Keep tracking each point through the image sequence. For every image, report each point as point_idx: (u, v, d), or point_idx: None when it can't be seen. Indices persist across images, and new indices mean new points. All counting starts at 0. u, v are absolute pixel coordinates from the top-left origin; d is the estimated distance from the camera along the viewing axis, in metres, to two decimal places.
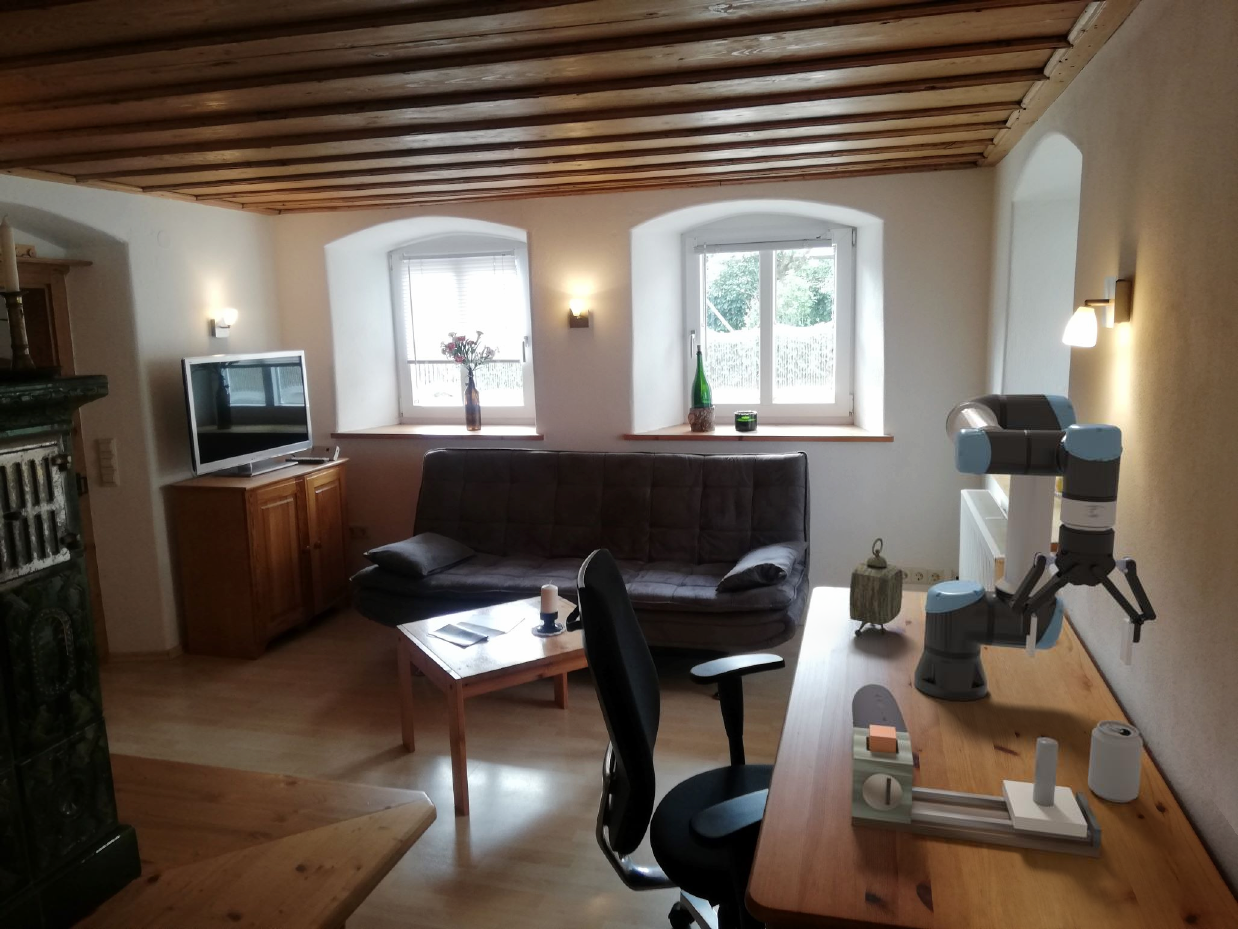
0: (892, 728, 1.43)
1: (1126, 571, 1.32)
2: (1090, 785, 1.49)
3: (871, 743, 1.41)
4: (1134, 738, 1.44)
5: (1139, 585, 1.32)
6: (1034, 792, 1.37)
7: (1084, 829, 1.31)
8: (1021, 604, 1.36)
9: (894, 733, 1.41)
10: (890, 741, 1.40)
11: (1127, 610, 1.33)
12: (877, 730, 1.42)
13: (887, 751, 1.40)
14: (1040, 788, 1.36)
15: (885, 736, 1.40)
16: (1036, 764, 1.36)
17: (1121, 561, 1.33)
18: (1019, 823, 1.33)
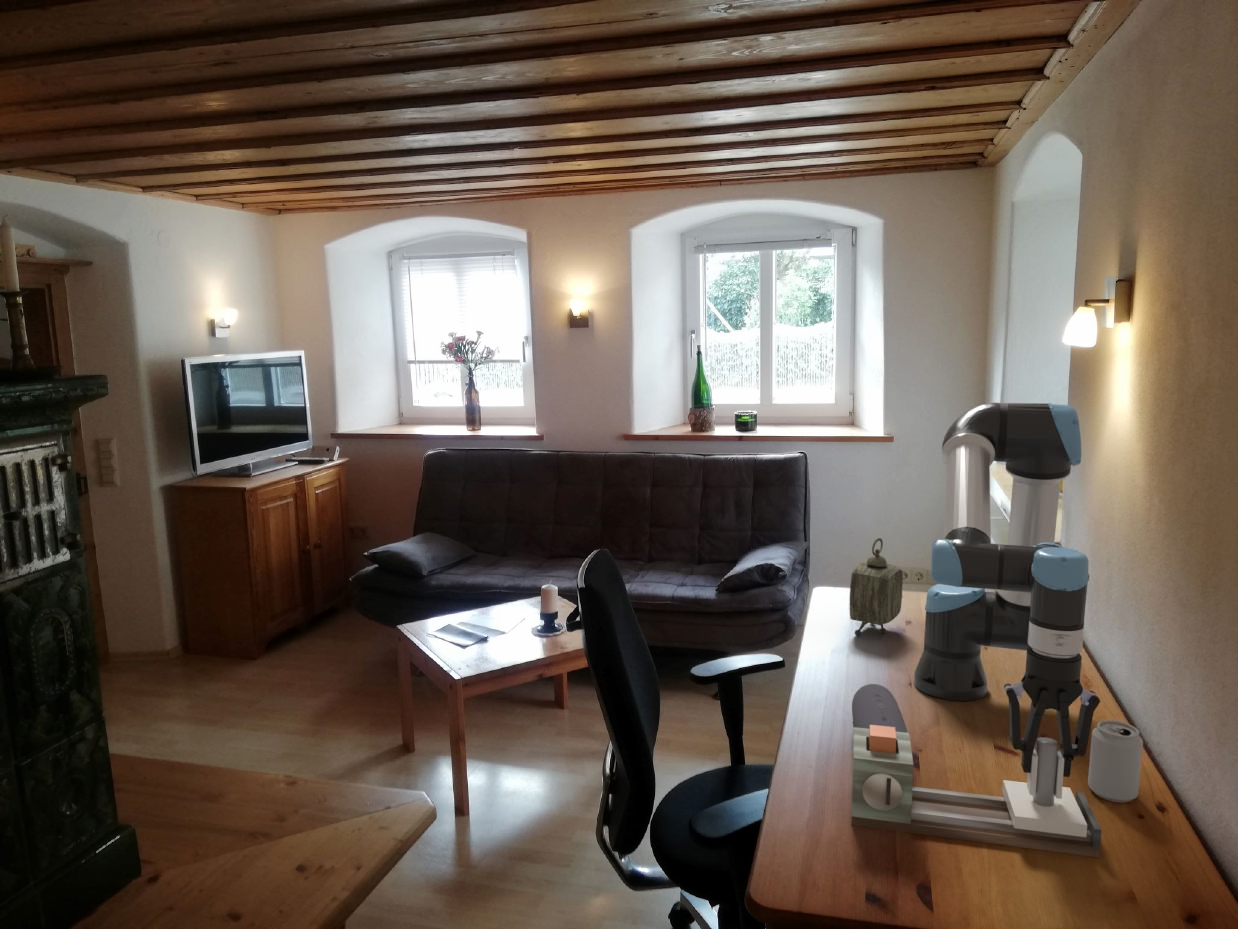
0: (892, 728, 1.43)
1: (1086, 704, 1.32)
2: (1090, 785, 1.49)
3: (871, 743, 1.41)
4: (1134, 738, 1.44)
5: (1089, 722, 1.32)
6: None
7: (1084, 829, 1.31)
8: (1019, 740, 1.35)
9: (894, 733, 1.41)
10: (890, 741, 1.40)
11: (1064, 742, 1.34)
12: (877, 730, 1.42)
13: (887, 751, 1.40)
14: (1040, 788, 1.36)
15: (885, 736, 1.40)
16: None
17: (1087, 693, 1.32)
18: (1019, 823, 1.33)
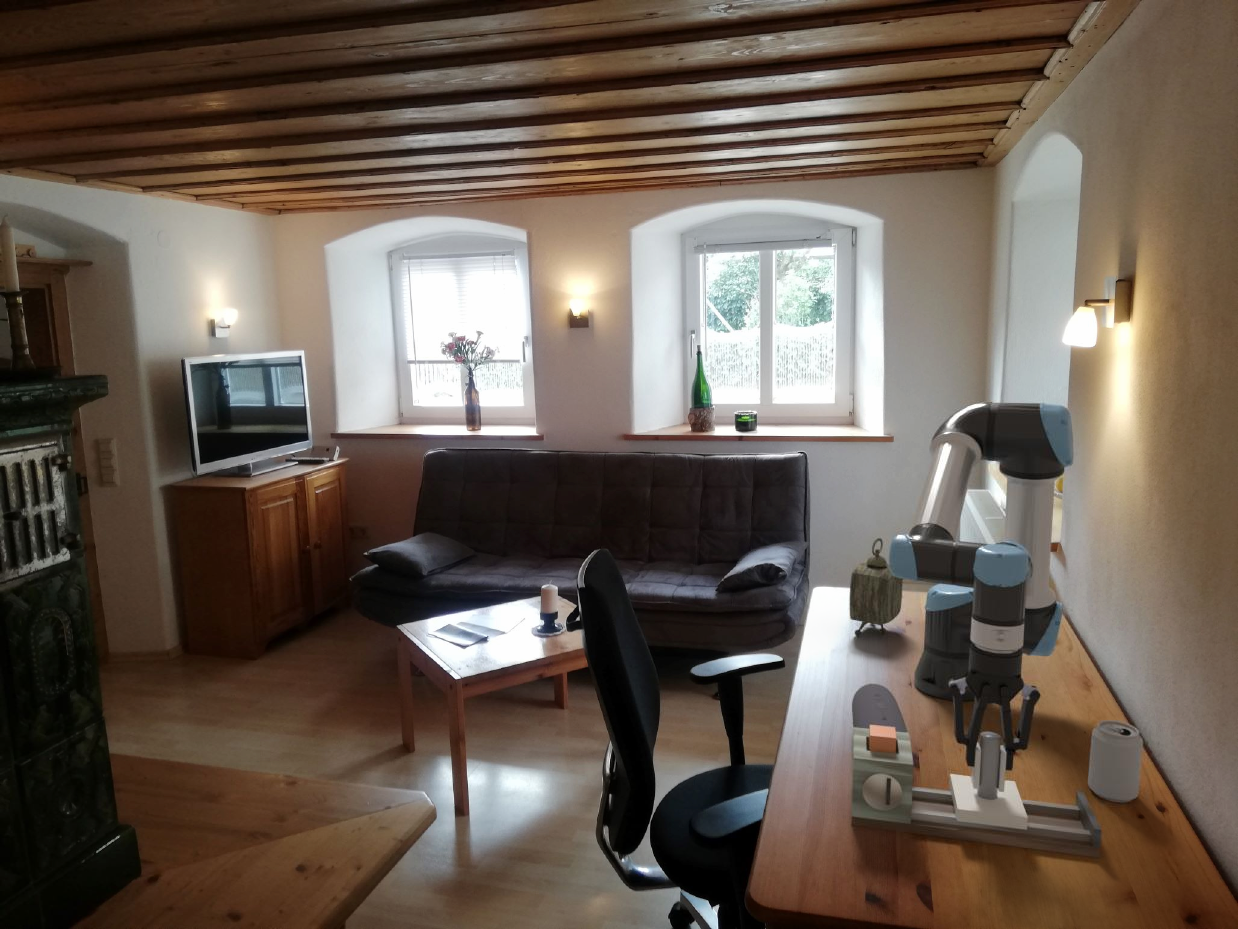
0: (892, 728, 1.43)
1: (1027, 698, 1.34)
2: (1090, 785, 1.49)
3: (871, 743, 1.41)
4: (1134, 738, 1.44)
5: (1030, 716, 1.34)
6: None
7: (1024, 822, 1.33)
8: (962, 735, 1.37)
9: (894, 733, 1.41)
10: (890, 741, 1.40)
11: (1006, 736, 1.36)
12: (877, 730, 1.42)
13: (887, 751, 1.40)
14: (983, 782, 1.38)
15: (885, 736, 1.40)
16: None
17: (1028, 688, 1.35)
18: (961, 816, 1.35)
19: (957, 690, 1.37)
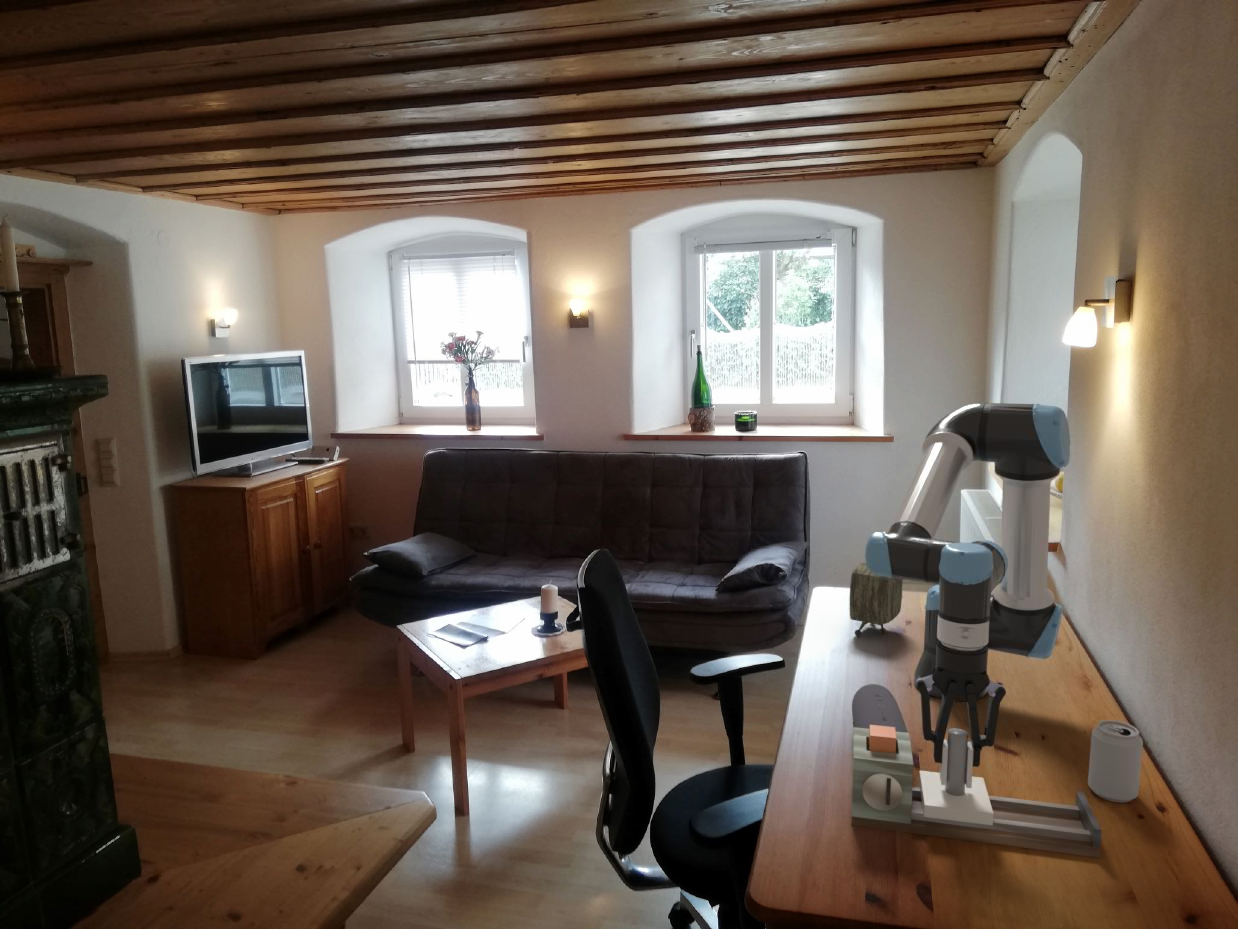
0: (892, 728, 1.43)
1: (993, 695, 1.35)
2: (1090, 785, 1.49)
3: (871, 743, 1.41)
4: (1134, 738, 1.44)
5: (996, 712, 1.36)
6: (946, 782, 1.40)
7: (990, 817, 1.34)
8: (930, 731, 1.39)
9: (894, 733, 1.41)
10: (890, 741, 1.40)
11: (973, 733, 1.37)
12: (877, 730, 1.42)
13: (887, 751, 1.40)
14: (951, 778, 1.39)
15: (885, 736, 1.40)
16: None
17: (994, 685, 1.36)
18: (928, 812, 1.36)
19: (924, 687, 1.38)
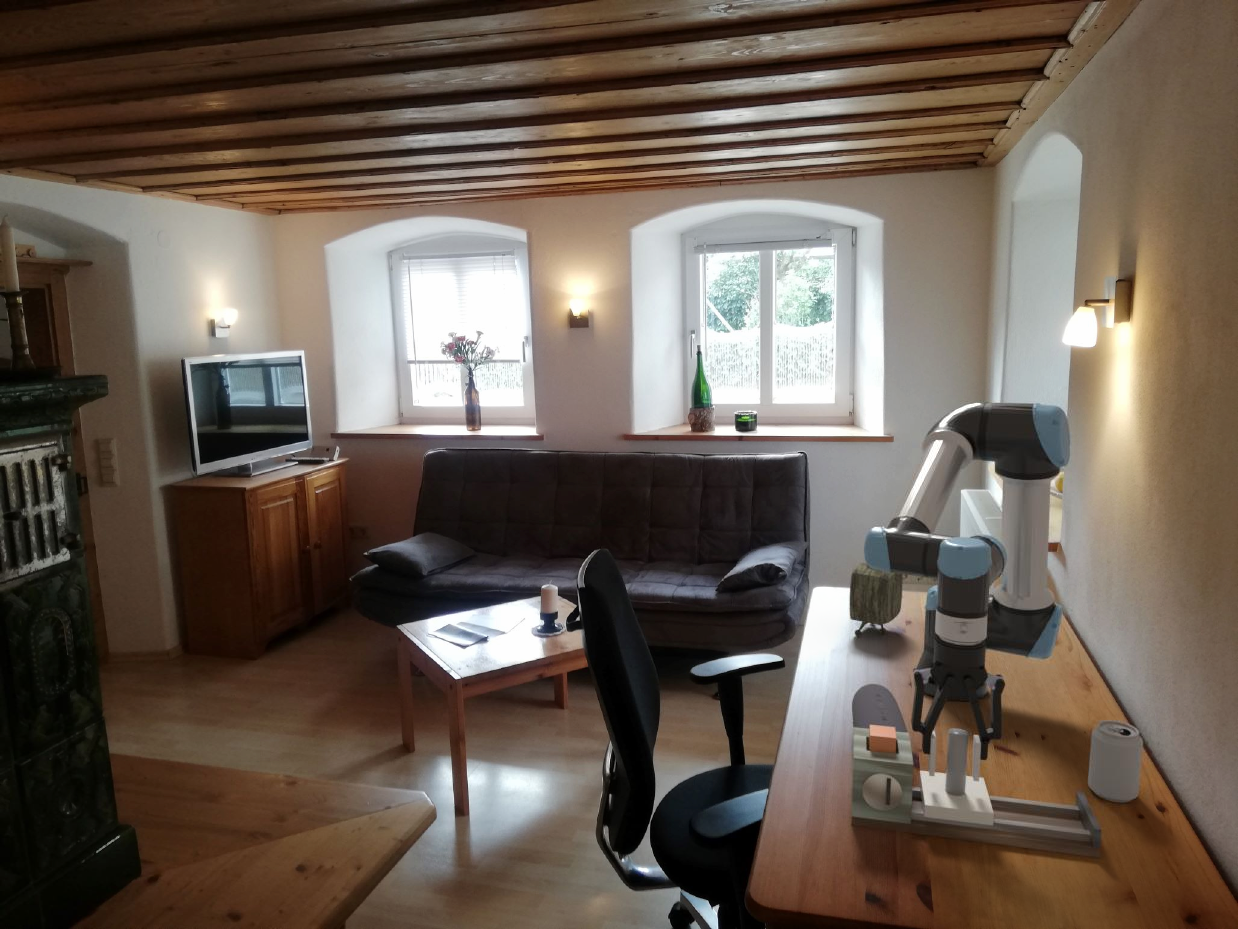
0: (892, 728, 1.43)
1: (993, 688, 1.35)
2: (1090, 785, 1.49)
3: (871, 743, 1.41)
4: (1134, 738, 1.44)
5: (999, 705, 1.35)
6: (946, 782, 1.40)
7: (990, 817, 1.34)
8: (919, 723, 1.39)
9: (894, 733, 1.41)
10: (890, 741, 1.40)
11: (979, 727, 1.37)
12: (877, 730, 1.42)
13: (887, 751, 1.40)
14: (951, 778, 1.39)
15: (885, 736, 1.40)
16: (947, 754, 1.39)
17: (993, 678, 1.36)
18: (929, 812, 1.36)
19: (921, 679, 1.38)
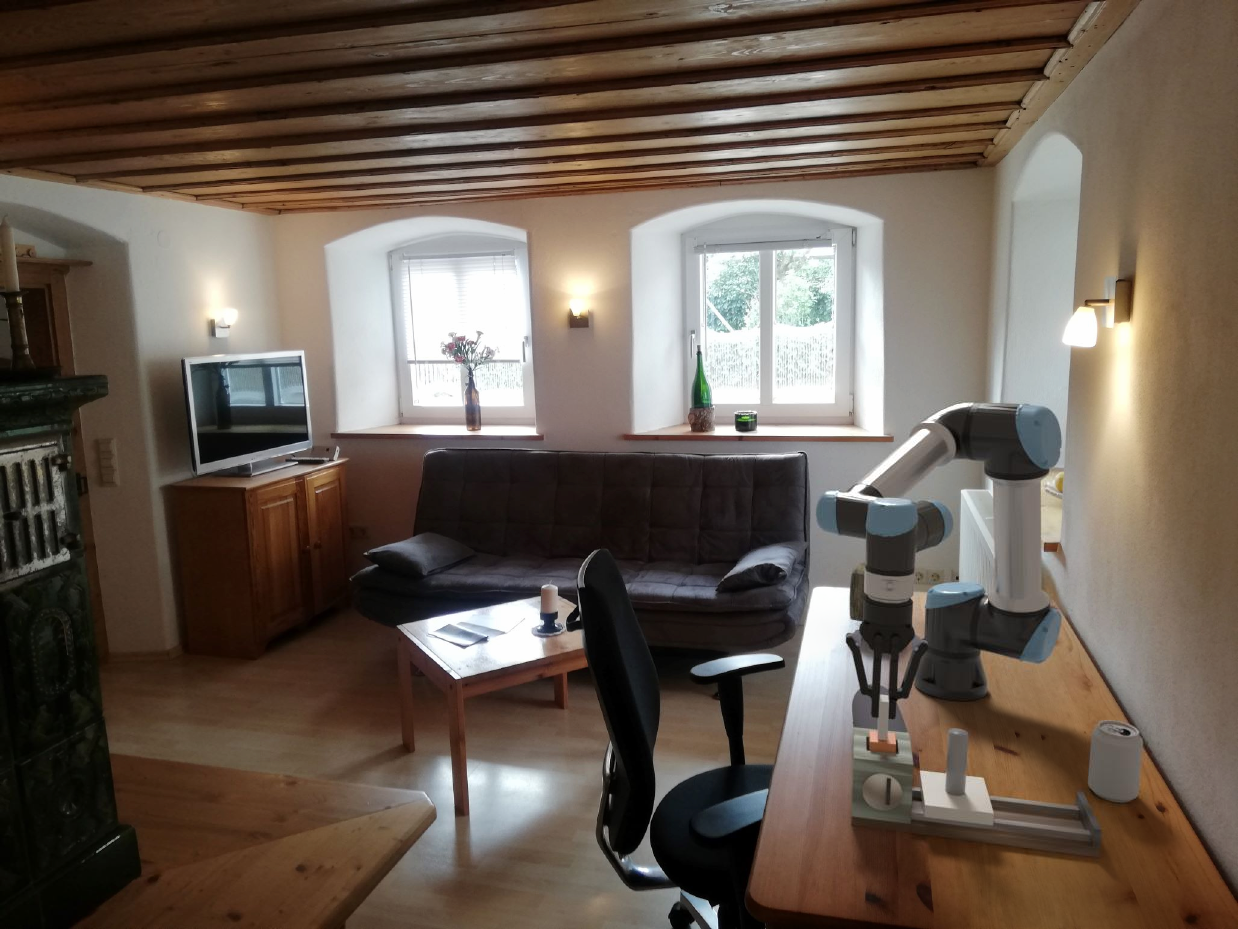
0: (892, 734, 1.43)
1: (916, 649, 1.37)
2: (1090, 785, 1.49)
3: (871, 749, 1.41)
4: (1134, 738, 1.44)
5: (916, 666, 1.38)
6: (946, 782, 1.40)
7: (990, 817, 1.34)
8: (865, 686, 1.40)
9: (894, 739, 1.41)
10: (890, 747, 1.40)
11: (891, 685, 1.39)
12: (876, 736, 1.42)
13: None
14: (951, 778, 1.39)
15: (885, 742, 1.40)
16: (947, 754, 1.39)
17: (918, 639, 1.38)
18: (929, 812, 1.36)
19: (853, 642, 1.40)
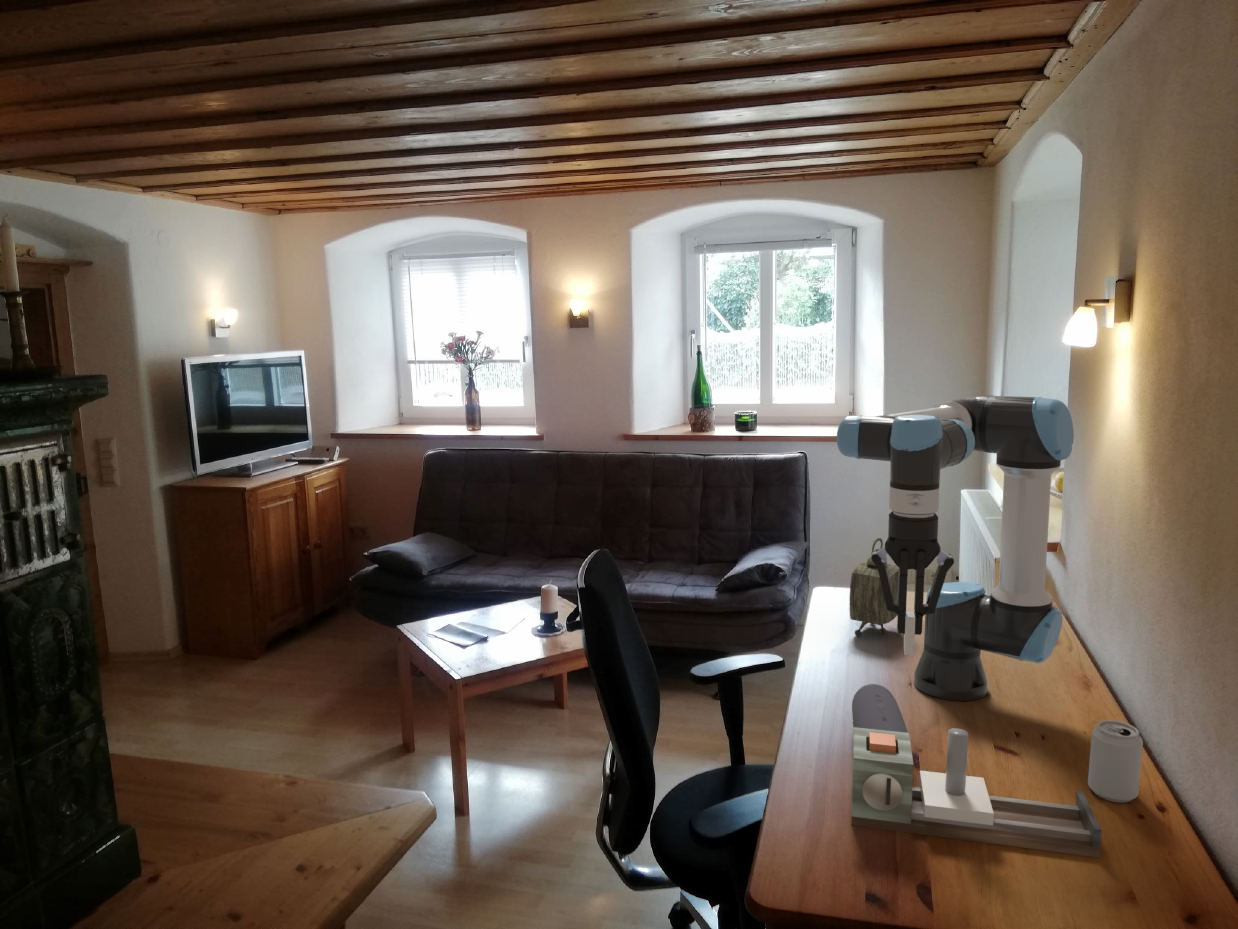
0: (892, 736, 1.43)
1: (941, 564, 1.39)
2: (1090, 785, 1.49)
3: None
4: (1134, 738, 1.44)
5: (942, 581, 1.39)
6: (946, 782, 1.40)
7: (990, 817, 1.34)
8: (892, 602, 1.42)
9: (894, 740, 1.41)
10: (890, 749, 1.40)
11: (917, 601, 1.41)
12: (876, 738, 1.42)
13: None
14: (951, 778, 1.39)
15: (885, 743, 1.40)
16: (947, 754, 1.39)
17: (944, 554, 1.39)
18: (929, 812, 1.36)
19: (878, 559, 1.41)
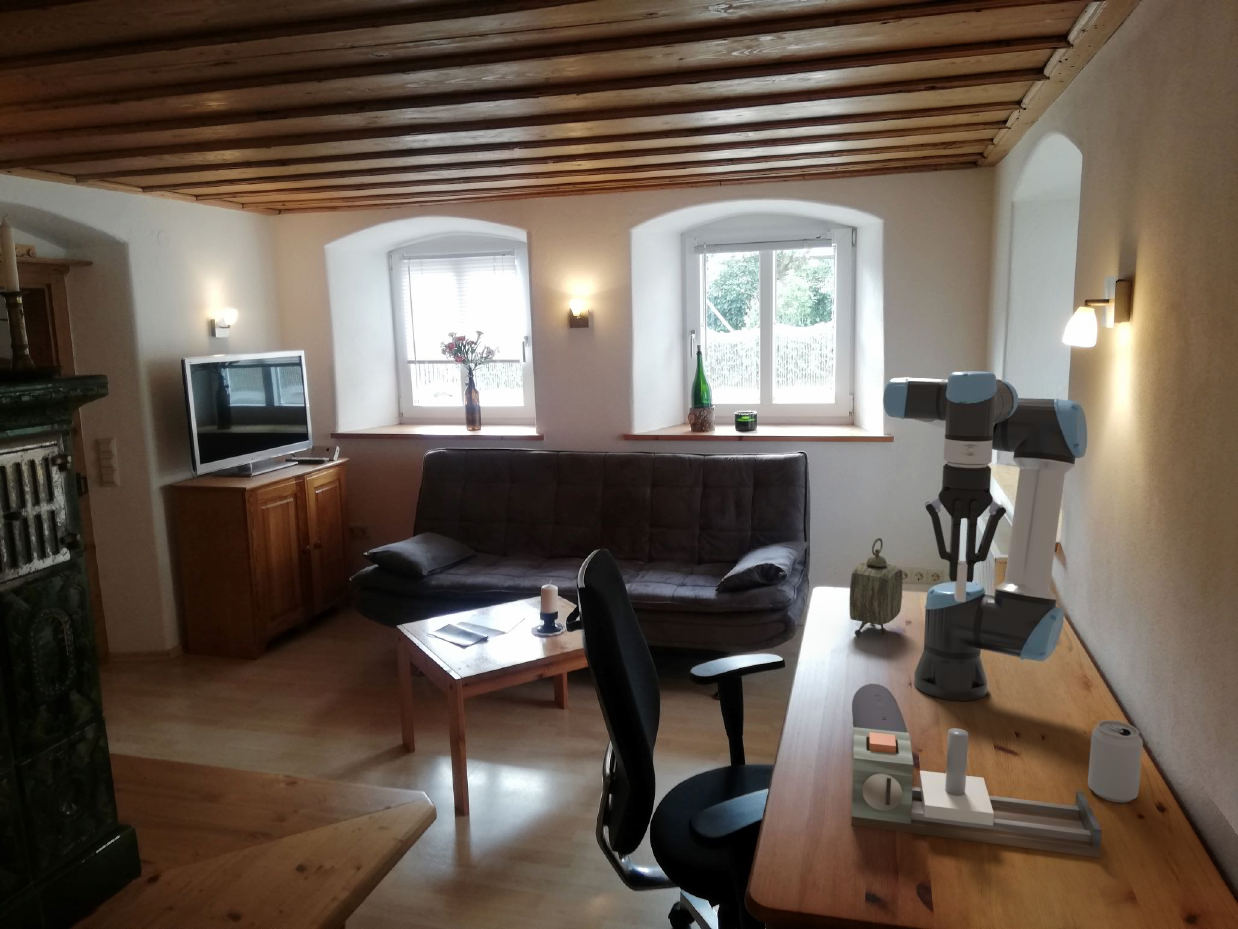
0: (892, 736, 1.43)
1: (993, 513, 1.45)
2: (1090, 785, 1.49)
3: None
4: (1134, 738, 1.44)
5: (993, 530, 1.46)
6: (946, 782, 1.40)
7: (990, 817, 1.34)
8: (945, 550, 1.48)
9: (894, 740, 1.41)
10: (890, 749, 1.40)
11: (969, 549, 1.47)
12: (876, 738, 1.42)
13: None
14: (951, 778, 1.39)
15: (885, 743, 1.40)
16: (947, 754, 1.39)
17: (996, 504, 1.46)
18: (929, 812, 1.36)
19: (933, 509, 1.48)
